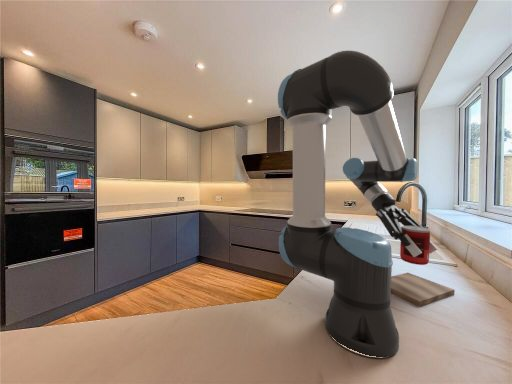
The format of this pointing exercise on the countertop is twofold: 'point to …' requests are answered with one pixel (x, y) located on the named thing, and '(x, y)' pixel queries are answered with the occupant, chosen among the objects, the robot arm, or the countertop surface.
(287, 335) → the countertop surface
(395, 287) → the walnut board
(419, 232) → the canned food
